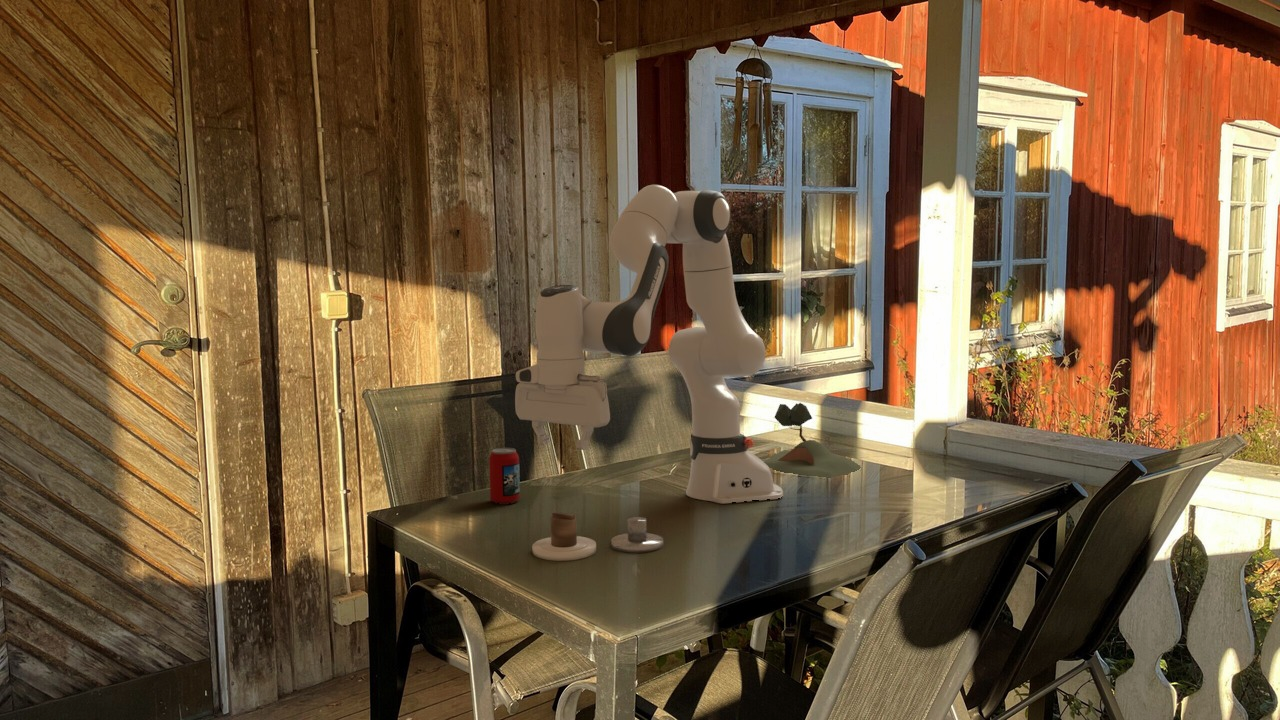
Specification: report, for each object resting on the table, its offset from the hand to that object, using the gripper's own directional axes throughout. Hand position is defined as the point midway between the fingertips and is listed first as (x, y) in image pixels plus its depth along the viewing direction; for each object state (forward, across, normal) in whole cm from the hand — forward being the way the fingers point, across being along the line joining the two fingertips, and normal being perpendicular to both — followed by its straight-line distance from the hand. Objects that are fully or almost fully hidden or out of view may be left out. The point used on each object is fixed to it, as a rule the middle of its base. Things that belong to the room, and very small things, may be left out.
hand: (562, 446), depth 178 cm
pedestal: (+20, -9, -10) cm, 24 cm away
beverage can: (+20, +36, -22) cm, 47 cm away
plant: (+22, -5, -95) cm, 98 cm away
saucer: (+20, 0, 0) cm, 20 cm away
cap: (+18, 0, 0) cm, 19 cm away
